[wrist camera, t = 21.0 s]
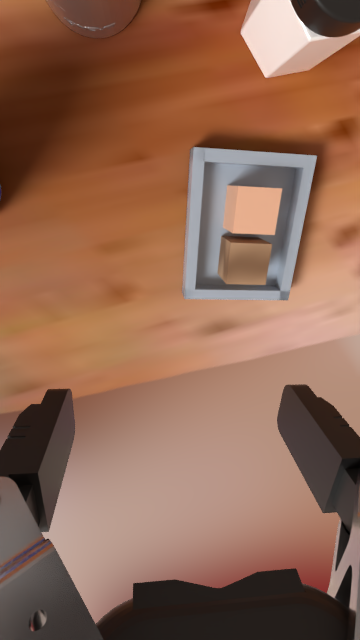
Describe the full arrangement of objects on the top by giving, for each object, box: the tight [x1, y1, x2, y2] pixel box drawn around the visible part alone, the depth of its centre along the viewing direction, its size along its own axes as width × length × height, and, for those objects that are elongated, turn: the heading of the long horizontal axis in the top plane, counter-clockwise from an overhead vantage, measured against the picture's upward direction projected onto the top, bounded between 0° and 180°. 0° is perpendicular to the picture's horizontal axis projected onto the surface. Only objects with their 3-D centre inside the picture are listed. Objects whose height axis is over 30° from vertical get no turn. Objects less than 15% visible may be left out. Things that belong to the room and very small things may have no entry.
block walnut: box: [218, 236, 272, 285], centre depth 36 cm, size 4×4×4 cm
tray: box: [182, 147, 317, 300], centre depth 36 cm, size 16×13×2 cm
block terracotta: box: [223, 185, 282, 235], centre depth 34 cm, size 4×4×4 cm
